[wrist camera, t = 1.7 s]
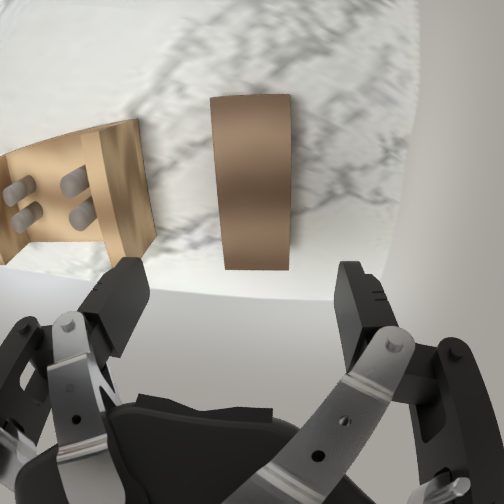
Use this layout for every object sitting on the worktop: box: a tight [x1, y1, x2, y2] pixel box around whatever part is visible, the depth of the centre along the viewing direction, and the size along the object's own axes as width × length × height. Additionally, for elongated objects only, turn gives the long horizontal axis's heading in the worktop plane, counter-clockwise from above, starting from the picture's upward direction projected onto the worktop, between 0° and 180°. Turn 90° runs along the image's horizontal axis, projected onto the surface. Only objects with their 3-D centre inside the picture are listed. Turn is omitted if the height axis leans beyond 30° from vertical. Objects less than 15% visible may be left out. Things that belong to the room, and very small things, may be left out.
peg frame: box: [0, 118, 156, 268], centre depth 21 cm, size 11×19×6 cm, turn 92°
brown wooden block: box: [210, 94, 291, 270], centre depth 21 cm, size 13×5×4 cm, turn 2°
